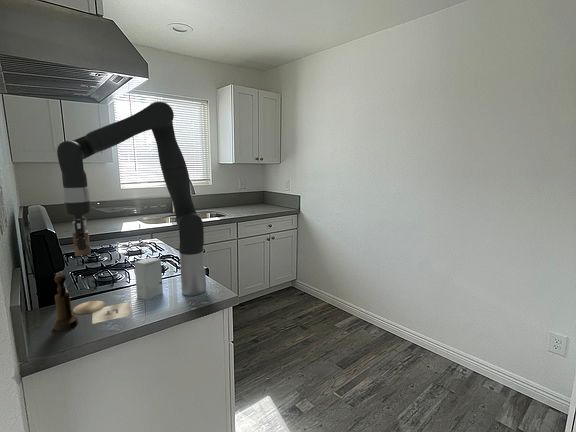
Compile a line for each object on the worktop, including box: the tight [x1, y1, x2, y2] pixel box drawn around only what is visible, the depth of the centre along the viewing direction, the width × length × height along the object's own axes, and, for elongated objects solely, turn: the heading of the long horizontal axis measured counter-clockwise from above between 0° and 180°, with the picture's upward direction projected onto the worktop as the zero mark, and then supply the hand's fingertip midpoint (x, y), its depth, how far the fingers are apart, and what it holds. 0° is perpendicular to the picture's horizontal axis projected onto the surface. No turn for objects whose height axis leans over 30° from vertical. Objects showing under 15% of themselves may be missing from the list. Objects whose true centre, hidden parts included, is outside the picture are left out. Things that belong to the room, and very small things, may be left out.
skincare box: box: [133, 257, 164, 301], centre depth 129 cm, size 8×6×15 cm
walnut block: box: [72, 229, 91, 257], centre depth 114 cm, size 4×4×8 cm
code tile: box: [91, 301, 133, 325], centre depth 115 cm, size 12×12×1 cm
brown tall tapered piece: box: [53, 273, 79, 332], centre depth 104 cm, size 7×6×18 cm
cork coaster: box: [72, 300, 106, 315], centre depth 119 cm, size 10×10×1 cm
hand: (82, 247), depth 114 cm, fingers closed on walnut block, 4 cm apart
